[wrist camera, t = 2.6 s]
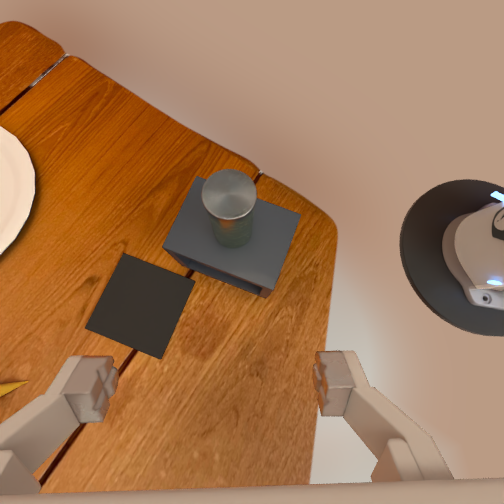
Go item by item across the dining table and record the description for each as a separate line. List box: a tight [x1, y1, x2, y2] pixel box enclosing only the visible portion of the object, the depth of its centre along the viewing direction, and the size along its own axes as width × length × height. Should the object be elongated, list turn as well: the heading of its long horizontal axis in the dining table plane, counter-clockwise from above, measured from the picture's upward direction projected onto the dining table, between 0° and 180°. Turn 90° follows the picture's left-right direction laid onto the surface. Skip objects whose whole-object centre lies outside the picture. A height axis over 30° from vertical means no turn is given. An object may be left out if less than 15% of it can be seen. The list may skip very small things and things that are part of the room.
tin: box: [201, 169, 257, 249], centre depth 29 cm, size 5×5×10 cm
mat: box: [85, 253, 195, 359], centre depth 42 cm, size 12×12×1 cm
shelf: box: [162, 176, 301, 298], centre depth 40 cm, size 14×10×11 cm
